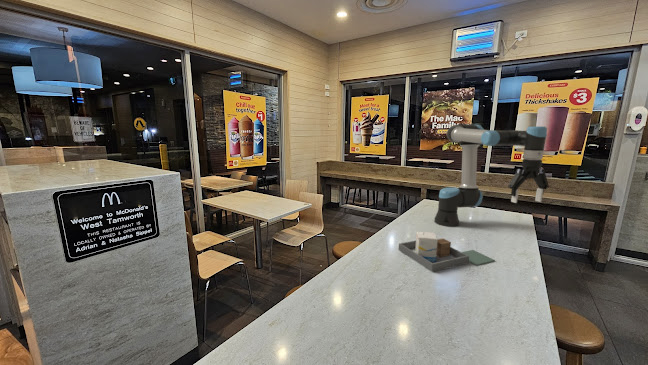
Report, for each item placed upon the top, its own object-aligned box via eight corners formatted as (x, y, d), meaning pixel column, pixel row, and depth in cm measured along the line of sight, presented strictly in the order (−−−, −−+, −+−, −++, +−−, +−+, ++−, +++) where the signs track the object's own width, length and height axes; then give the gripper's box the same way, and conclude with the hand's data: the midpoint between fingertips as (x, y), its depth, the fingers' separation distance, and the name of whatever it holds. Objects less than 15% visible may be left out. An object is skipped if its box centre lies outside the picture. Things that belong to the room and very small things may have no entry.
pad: (455, 254, 134) (455, 253, 134) (472, 250, 138) (472, 249, 138) (476, 265, 123) (476, 264, 123) (494, 261, 127) (494, 260, 127)
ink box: (436, 262, 126) (438, 239, 124) (417, 260, 128) (418, 237, 126) (432, 254, 134) (434, 232, 132) (414, 253, 136) (416, 231, 134)
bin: (398, 249, 139) (398, 243, 139) (431, 243, 147) (431, 237, 147) (431, 271, 118) (432, 264, 117) (468, 263, 126) (469, 256, 125)
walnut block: (432, 253, 136) (433, 240, 135) (441, 251, 138) (443, 238, 137) (440, 257, 131) (441, 244, 130) (449, 255, 134) (450, 242, 132)
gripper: (515, 160, 124) (509, 204, 129) (562, 159, 128) (555, 202, 132) (503, 158, 132) (497, 200, 136) (547, 157, 135) (541, 199, 139)
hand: (526, 201), depth 134 cm, fingers open, 13 cm apart
